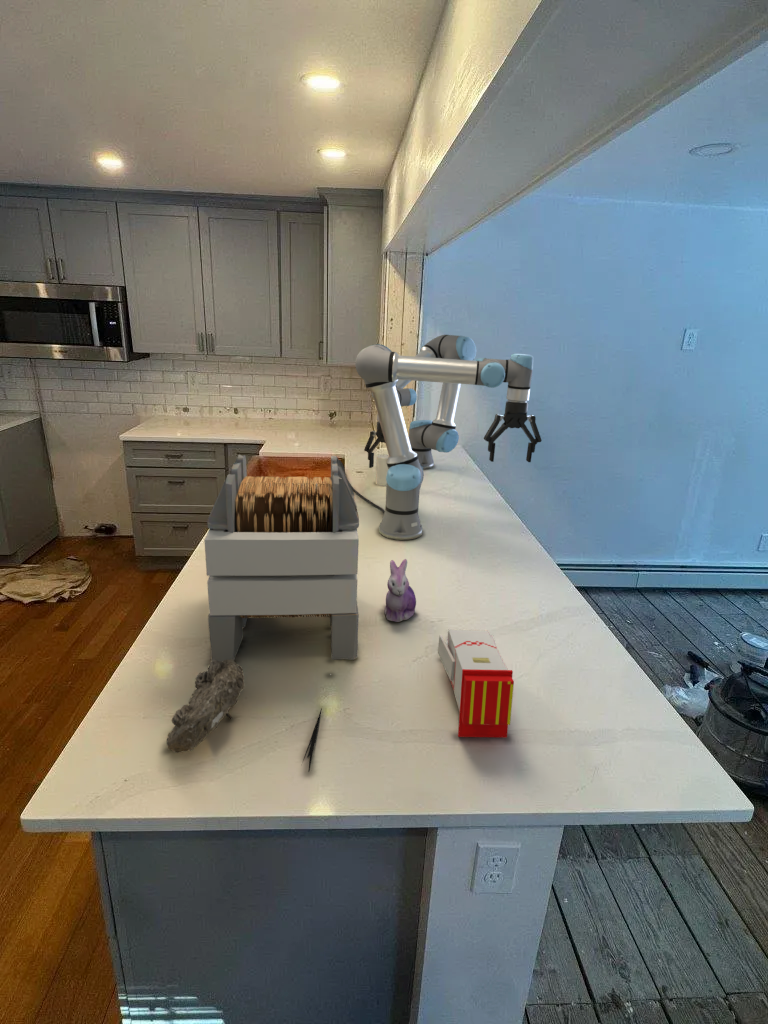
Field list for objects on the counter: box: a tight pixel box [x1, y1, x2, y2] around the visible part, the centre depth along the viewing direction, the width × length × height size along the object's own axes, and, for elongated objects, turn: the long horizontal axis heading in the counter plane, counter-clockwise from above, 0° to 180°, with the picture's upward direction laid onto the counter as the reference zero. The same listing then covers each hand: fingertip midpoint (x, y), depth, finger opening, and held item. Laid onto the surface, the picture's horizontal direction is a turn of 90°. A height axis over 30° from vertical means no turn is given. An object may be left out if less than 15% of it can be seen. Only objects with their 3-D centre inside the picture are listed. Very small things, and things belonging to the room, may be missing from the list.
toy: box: [437, 628, 515, 738], centre depth 117 cm, size 12×13×30 cm
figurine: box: [384, 558, 417, 623], centre depth 145 cm, size 9×10×15 cm
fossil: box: [166, 659, 245, 754], centre depth 106 cm, size 22×10×15 cm
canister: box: [375, 454, 389, 487], centre depth 254 cm, size 7×7×13 cm
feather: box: [301, 673, 332, 771], centre depth 108 cm, size 2×28×2 cm
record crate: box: [204, 454, 360, 662], centre depth 134 cm, size 34×33×41 cm
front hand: (509, 461), depth 201 cm, fingers open, 13 cm apart
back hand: (383, 469), depth 254 cm, fingers open, 12 cm apart
